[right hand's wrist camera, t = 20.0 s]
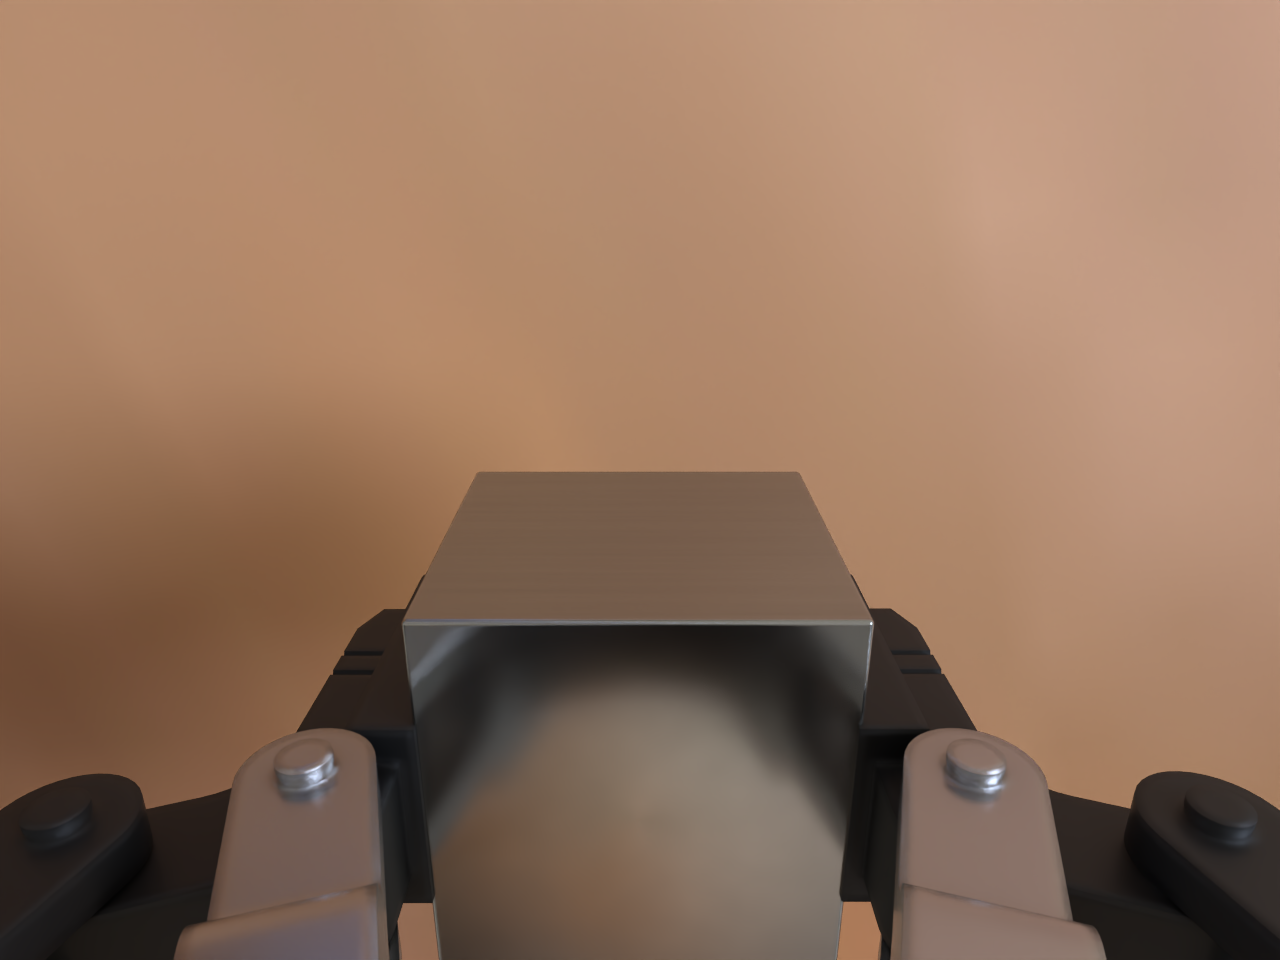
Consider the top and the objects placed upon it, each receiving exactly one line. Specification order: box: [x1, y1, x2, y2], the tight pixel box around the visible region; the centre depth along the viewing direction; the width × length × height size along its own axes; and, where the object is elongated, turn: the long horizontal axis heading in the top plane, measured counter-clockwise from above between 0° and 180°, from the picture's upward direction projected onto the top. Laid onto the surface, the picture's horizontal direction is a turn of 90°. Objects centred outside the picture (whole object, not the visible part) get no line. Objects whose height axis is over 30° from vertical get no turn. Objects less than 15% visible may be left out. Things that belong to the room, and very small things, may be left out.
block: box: [402, 472, 874, 960], centre depth 11 cm, size 4×5×4 cm
